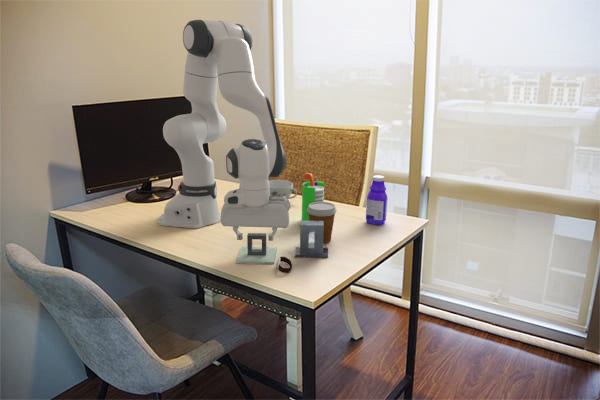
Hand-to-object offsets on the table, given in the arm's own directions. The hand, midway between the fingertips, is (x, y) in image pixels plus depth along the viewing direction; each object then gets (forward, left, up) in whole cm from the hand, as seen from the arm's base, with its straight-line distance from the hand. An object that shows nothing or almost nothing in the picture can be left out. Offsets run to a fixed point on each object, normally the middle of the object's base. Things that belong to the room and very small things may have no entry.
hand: (255, 239), depth 144 cm
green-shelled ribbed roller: (+17, +31, -5) cm, 36 cm away
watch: (+9, -8, -6) cm, 14 cm away
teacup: (+3, +54, -6) cm, 55 cm away
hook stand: (+17, -2, -5) cm, 18 cm away
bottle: (+40, +31, -5) cm, 51 cm away
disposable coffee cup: (+20, +13, -5) cm, 25 cm away
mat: (0, 0, -5) cm, 5 cm away
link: (0, 0, -5) cm, 5 cm away
